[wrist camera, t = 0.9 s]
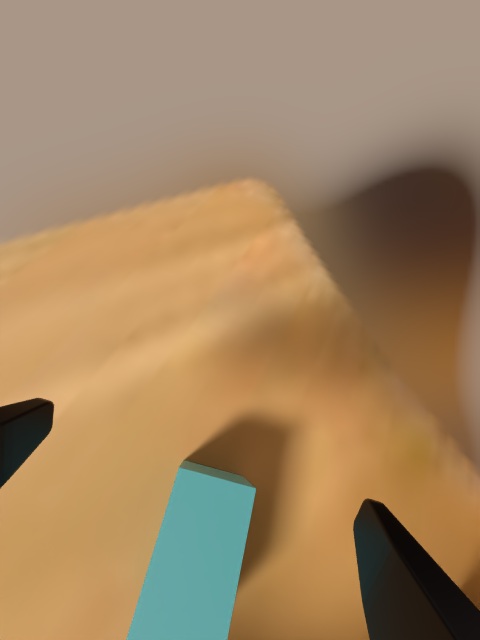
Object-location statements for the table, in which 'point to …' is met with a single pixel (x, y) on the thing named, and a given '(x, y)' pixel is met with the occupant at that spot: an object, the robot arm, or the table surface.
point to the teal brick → (196, 558)
